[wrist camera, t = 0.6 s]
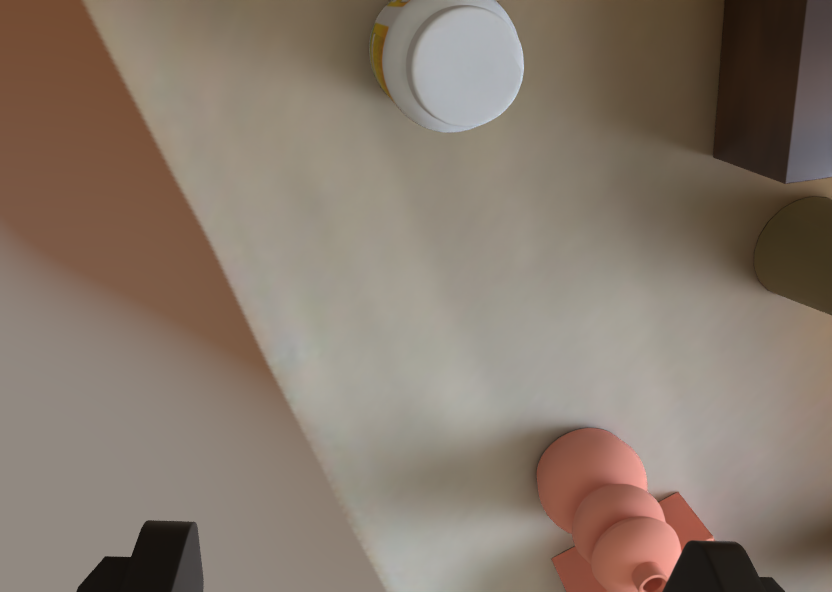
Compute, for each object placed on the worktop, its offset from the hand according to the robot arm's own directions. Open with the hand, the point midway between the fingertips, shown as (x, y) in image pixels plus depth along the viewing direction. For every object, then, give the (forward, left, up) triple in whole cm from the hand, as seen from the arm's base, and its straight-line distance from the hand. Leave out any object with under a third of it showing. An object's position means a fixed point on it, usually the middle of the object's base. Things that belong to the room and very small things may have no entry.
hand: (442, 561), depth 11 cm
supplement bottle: (-6, +4, -25) cm, 27 cm away
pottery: (+25, +14, -25) cm, 38 cm away
